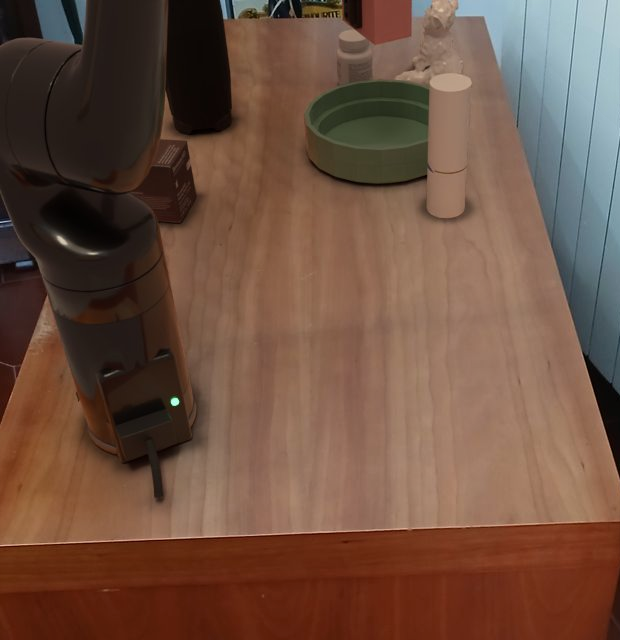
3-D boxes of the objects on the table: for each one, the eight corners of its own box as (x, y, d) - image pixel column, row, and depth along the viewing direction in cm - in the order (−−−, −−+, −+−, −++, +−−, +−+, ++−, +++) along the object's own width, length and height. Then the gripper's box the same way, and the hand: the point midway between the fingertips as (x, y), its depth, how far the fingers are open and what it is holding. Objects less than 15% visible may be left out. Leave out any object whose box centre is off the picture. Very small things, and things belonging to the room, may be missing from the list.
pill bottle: (379, 92, 127) (378, 31, 121) (361, 106, 124) (360, 45, 118) (350, 84, 129) (348, 25, 123) (331, 98, 126) (328, 38, 120)
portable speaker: (227, 101, 126) (209, -46, 113) (242, 132, 119) (225, -22, 107) (165, 112, 124) (139, -37, 112) (177, 144, 118) (151, -11, 105)
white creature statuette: (416, 64, 133) (418, -20, 125) (473, 73, 130) (478, -13, 122) (391, 92, 127) (390, 4, 119) (450, 102, 124) (454, 13, 116)
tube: (472, 206, 104) (480, 80, 94) (448, 222, 102) (454, 95, 92) (442, 193, 106) (447, 69, 96) (418, 209, 104) (421, 83, 94)
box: (180, 224, 103) (170, 167, 99) (130, 220, 104) (117, 163, 100) (197, 196, 108) (188, 139, 103) (149, 192, 109) (138, 136, 104)
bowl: (482, 163, 111) (484, 125, 108) (346, 202, 106) (345, 163, 102) (409, 103, 124) (409, 68, 120) (284, 136, 118) (281, 99, 115)
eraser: (411, 36, 100) (412, -10, 97) (374, 45, 99) (374, -2, 96) (377, 12, 106) (377, -33, 102) (342, 20, 104) (340, -25, 101)
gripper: (323, -130, 86) (332, 47, 97) (456, -153, 90) (449, 19, 101) (292, -147, 91) (303, 23, 102) (418, -168, 95) (416, -2, 107)
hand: (376, 20), depth 102 cm, fingers closed on eraser, 4 cm apart
